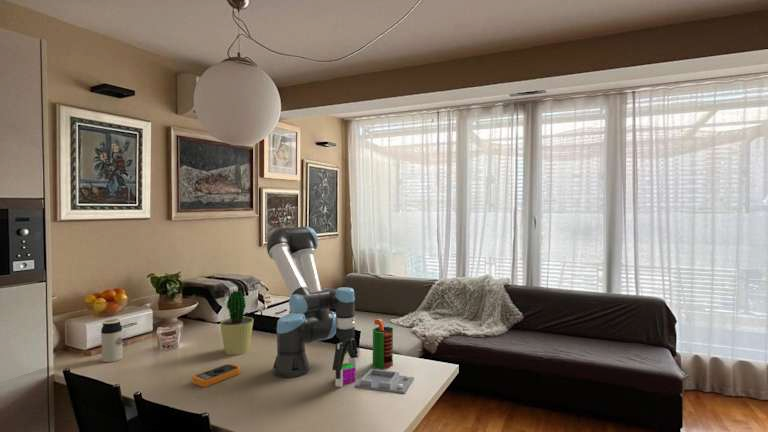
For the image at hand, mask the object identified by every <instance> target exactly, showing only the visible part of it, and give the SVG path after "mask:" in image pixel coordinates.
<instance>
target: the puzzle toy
mask: <svg viewBox="0 0 768 432" xmlns="http://www.w3.org/2000/svg"><path fill="white" fill-rule="evenodd" d="M342 370H343V385H344V384H348V383H353V382H356V374H355V367H354V366H353V365H352V364H350V363H349V362H347V363H343V365H342Z"/></svg>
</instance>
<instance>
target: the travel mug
mask: <svg viewBox="0 0 768 432" xmlns="http://www.w3.org/2000/svg"><path fill="white" fill-rule="evenodd" d="M121 321H122V319H121V318H110V319H106V320H103V321H101V324H102V327H101V330H100V331H101V333H100V334H101V361H102V362H104V363H113V362H117V361H119V360H122V359H123V326H122V324H121Z"/></svg>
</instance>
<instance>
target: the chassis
mask: <svg viewBox="0 0 768 432" xmlns="http://www.w3.org/2000/svg"><path fill="white" fill-rule="evenodd" d="M414 380H415V377H414V376H409V375H408V374H405V375H401V374H400V372H399V371H394V370H384V369H377V368H370V369H369V370H368V371H366V373H365V374H363V376H362V377H361V378H360V379H359V380H358V381H357V382H356V383H355V384H354V388H359V389H366V390H373V391H381V392H390V393H396V394H406V393H407V391H408V389H409V388H410V386H411V385H412V383H413V382H414Z"/></svg>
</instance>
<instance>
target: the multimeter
mask: <svg viewBox="0 0 768 432" xmlns="http://www.w3.org/2000/svg"><path fill="white" fill-rule="evenodd" d="M240 373H241V366H240V365H237V364H234V363H227V364H223V365H221V366H218V367H215V368H211V369H209V370H206V371H203V372H201V373H197V374H195V375H193V376H191V377H192V379H191V381H192V384H194V385H195V386H198V387H201V388H207V387H210V386H211V385H214V384H217V383H220V382H221V381H225V380H227V378H228V379H230V378H232V377H235V375H236V376H238V375H240Z"/></svg>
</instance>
